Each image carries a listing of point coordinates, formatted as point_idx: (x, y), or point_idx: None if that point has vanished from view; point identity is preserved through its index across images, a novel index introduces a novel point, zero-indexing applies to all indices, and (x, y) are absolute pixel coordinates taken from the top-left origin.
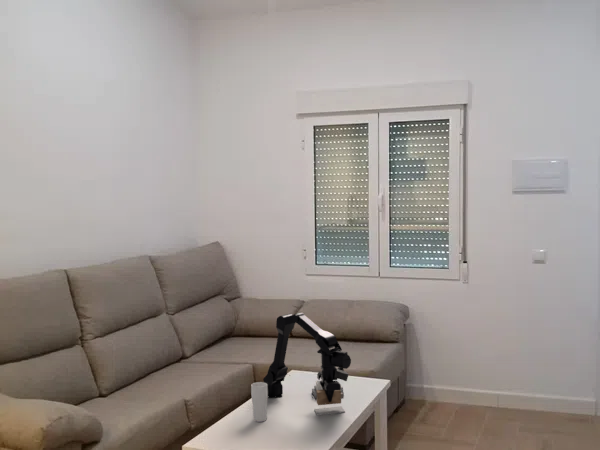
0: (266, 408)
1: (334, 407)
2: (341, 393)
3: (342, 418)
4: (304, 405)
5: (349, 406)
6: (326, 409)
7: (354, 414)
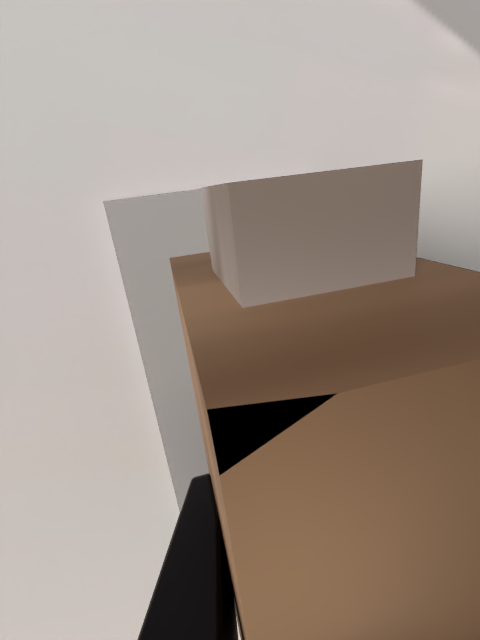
0: None
1: (150, 314)
2: (358, 236)
3: (470, 234)
4: (17, 622)
5: (34, 37)
6: None
7: (402, 38)
